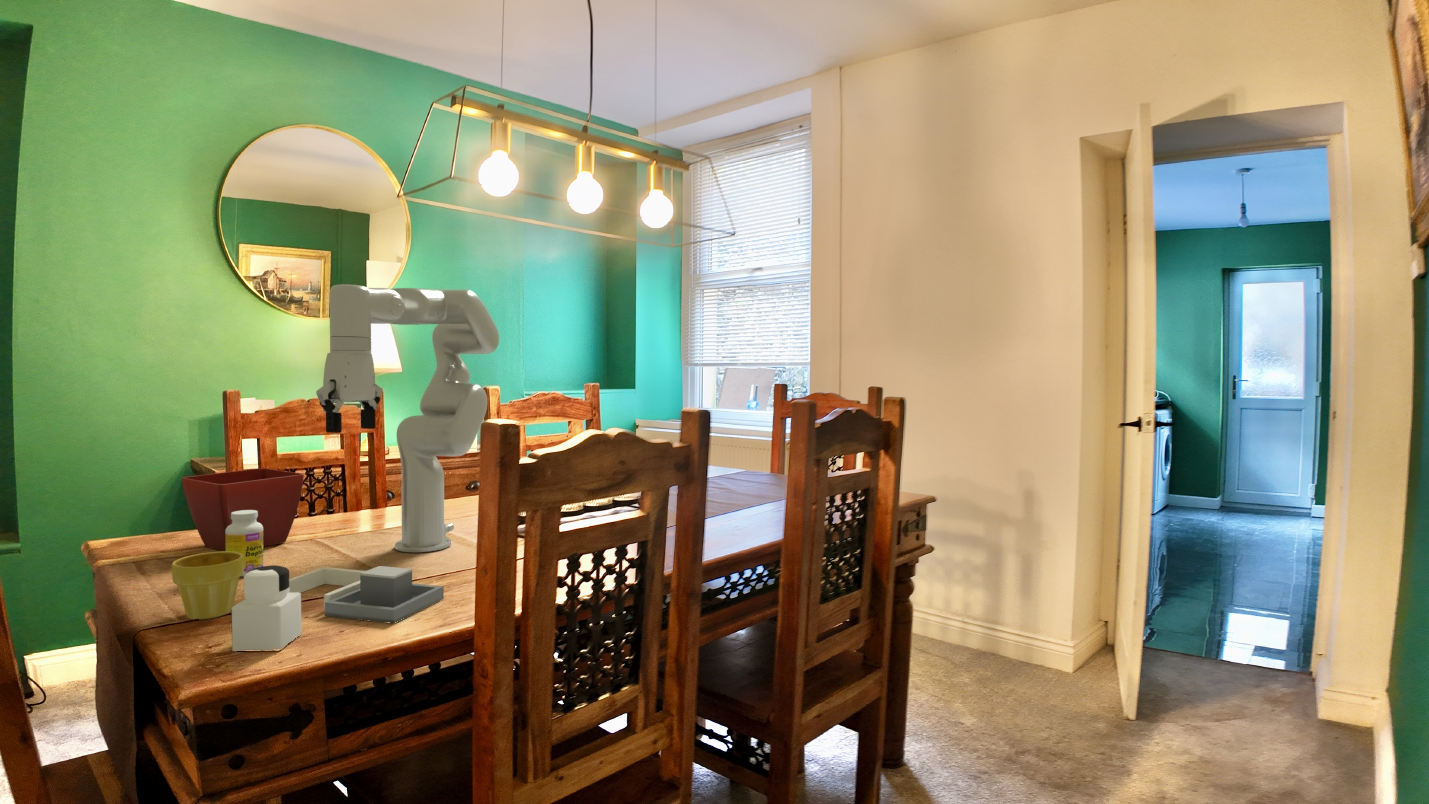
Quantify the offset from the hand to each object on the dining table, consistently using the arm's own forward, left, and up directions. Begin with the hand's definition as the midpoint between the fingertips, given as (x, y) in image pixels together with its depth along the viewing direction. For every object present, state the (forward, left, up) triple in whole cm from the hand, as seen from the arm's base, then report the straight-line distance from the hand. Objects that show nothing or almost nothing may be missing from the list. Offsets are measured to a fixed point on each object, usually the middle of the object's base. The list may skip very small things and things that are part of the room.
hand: (351, 430), depth 151 cm
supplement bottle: (+4, -23, -31) cm, 38 cm away
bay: (+12, +4, -30) cm, 33 cm away
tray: (+14, +19, -30) cm, 38 cm away
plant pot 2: (+26, -8, -31) cm, 41 cm away
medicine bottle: (+34, +13, -31) cm, 47 cm away
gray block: (+14, +19, -30) cm, 38 cm away
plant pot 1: (-15, -43, -31) cm, 55 cm away
